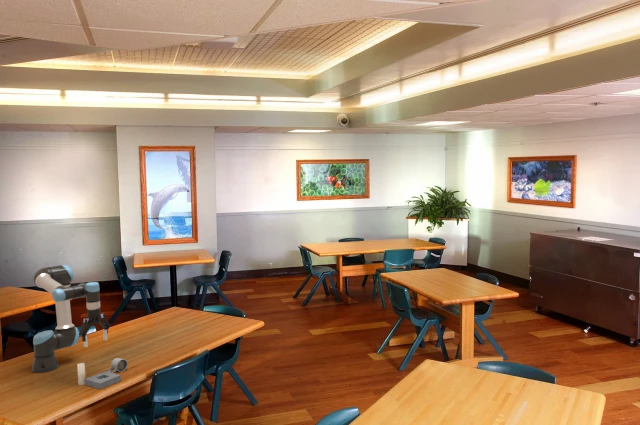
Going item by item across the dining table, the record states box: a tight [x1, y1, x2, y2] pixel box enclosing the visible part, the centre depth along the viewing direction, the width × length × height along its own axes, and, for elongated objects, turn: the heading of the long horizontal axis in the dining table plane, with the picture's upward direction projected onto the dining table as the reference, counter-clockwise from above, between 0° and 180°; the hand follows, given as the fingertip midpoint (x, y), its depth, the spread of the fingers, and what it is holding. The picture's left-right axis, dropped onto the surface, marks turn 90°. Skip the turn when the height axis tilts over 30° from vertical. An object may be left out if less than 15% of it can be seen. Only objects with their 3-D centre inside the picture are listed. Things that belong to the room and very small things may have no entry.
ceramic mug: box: [107, 357, 128, 374], centre depth 329 cm, size 11×8×8 cm
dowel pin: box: [76, 362, 86, 386], centre depth 310 cm, size 4×4×12 cm
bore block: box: [84, 370, 122, 390], centre depth 311 cm, size 14×14×4 cm
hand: (95, 343), depth 315 cm, fingers open, 13 cm apart
